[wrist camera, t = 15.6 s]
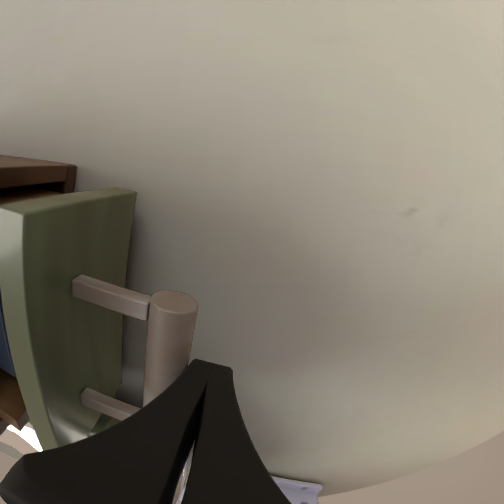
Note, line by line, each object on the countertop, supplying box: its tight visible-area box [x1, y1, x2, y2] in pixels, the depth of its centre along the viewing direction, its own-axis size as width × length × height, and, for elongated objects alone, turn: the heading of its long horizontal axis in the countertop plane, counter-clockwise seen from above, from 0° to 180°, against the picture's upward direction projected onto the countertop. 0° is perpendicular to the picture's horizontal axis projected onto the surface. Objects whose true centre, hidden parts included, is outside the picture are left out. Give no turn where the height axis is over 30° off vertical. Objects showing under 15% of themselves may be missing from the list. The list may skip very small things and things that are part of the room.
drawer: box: [0, 186, 198, 451], centre depth 10 cm, size 17×10×7 cm, turn 77°
